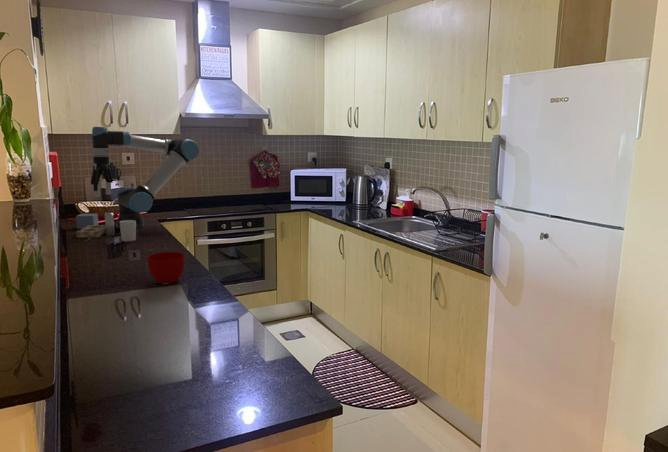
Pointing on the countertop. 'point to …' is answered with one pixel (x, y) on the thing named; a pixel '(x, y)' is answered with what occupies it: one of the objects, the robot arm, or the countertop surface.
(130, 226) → the white cup
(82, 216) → the slate blue cube
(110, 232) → the peg
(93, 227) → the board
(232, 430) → the countertop surface
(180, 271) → the ceramic cup
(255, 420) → the countertop surface
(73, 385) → the countertop surface
